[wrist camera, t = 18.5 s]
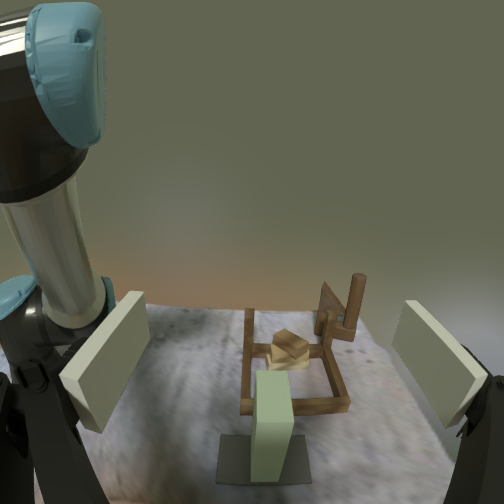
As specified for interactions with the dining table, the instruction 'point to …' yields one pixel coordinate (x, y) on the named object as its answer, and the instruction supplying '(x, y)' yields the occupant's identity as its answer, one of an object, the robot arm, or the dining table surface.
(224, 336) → the dining table surface
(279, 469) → the sage block
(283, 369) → the pine offcut
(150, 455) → the dining table surface
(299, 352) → the walnut offcut
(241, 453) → the felt mat
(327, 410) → the rack
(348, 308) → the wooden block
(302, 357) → the oak offcut
